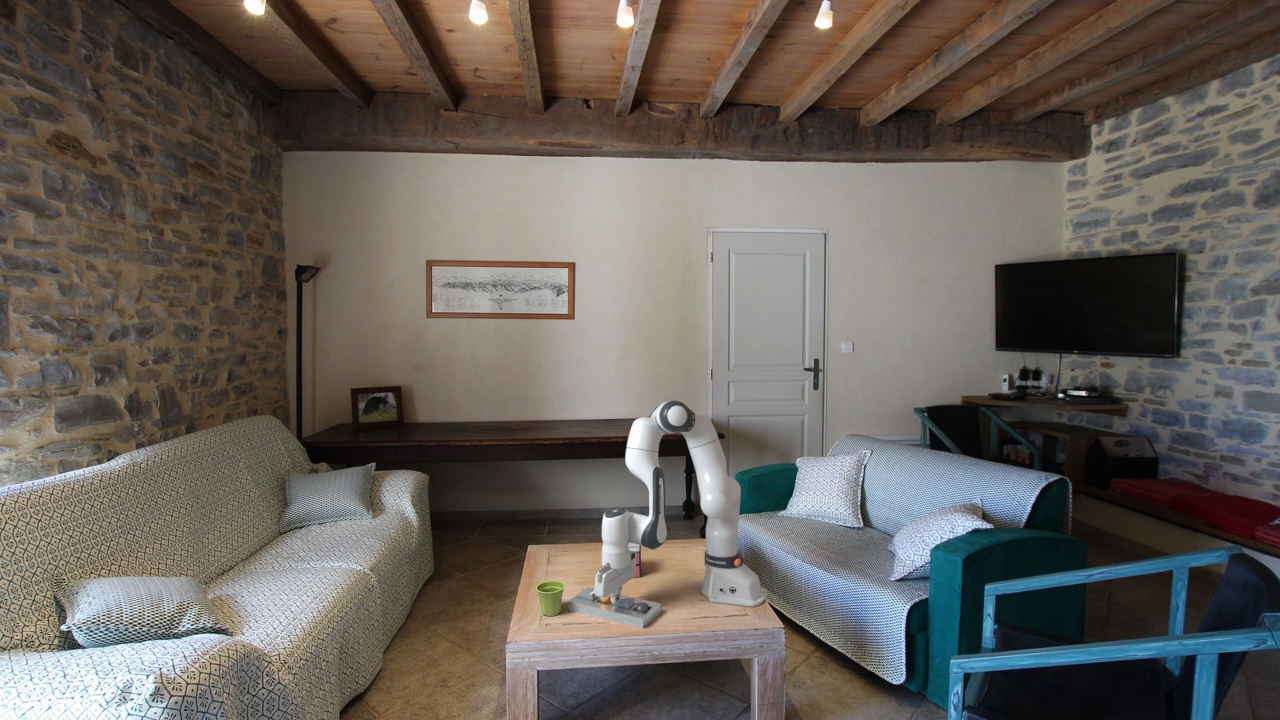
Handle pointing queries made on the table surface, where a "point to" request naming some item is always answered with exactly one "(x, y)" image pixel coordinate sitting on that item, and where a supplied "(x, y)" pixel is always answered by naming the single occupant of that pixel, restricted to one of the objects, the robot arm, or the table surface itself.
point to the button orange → (606, 600)
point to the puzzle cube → (638, 558)
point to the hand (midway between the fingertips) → (615, 600)
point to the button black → (642, 607)
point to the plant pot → (550, 597)
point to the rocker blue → (624, 603)
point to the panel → (615, 610)
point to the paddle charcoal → (588, 595)
